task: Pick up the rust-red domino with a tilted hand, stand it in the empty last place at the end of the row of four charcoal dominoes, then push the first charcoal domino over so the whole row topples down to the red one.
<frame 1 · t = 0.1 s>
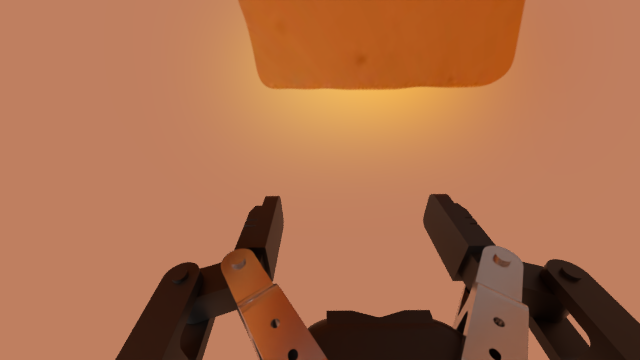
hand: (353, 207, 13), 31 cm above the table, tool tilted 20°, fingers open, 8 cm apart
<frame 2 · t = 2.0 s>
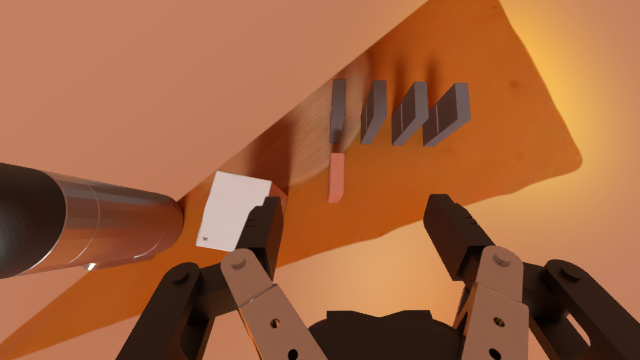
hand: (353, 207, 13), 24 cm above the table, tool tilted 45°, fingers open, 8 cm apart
domino 1: (334, 128, 40), on the table
domino 3: (396, 131, 39), on the table
domino 4: (427, 132, 39), on the table
domino 2: (365, 130, 40), on the table
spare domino: (333, 186, 38), on the table
small box: (264, 217, 37), on the table
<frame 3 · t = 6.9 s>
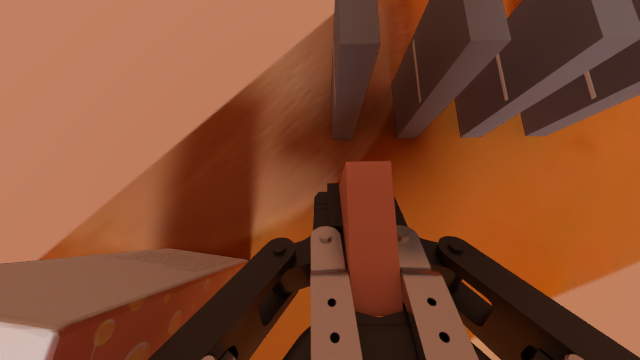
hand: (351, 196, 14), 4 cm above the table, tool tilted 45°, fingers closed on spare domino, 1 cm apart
domino 1: (341, 111, 20), on the table
domino 3: (466, 109, 20), on the table
domino 4: (529, 107, 19), on the table
domino 2: (403, 110, 20), on the table
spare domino: (346, 232, 18), on the table, touching gripper
small box: (199, 310, 17), on the table
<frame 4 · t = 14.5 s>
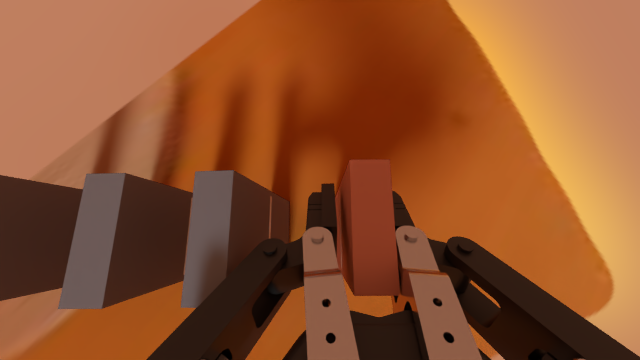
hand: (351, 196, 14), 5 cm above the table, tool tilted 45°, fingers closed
domino 3: (214, 234, 19), on the table
domino 4: (279, 233, 19), on the table
domino 2: (150, 235, 19), on the table
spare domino: (345, 230, 18), on the table
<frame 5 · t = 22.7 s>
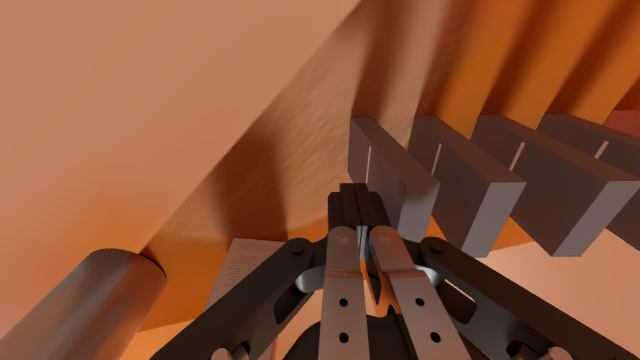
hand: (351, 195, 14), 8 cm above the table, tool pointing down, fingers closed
domino 1: (358, 145, 20), on the table, tilted 8°, touching gripper
domino 3: (478, 143, 20), on the table
domino 4: (539, 142, 20), on the table
domino 2: (418, 144, 20), on the table
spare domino: (602, 139, 20), on the table
small box: (262, 260, 29), on the table
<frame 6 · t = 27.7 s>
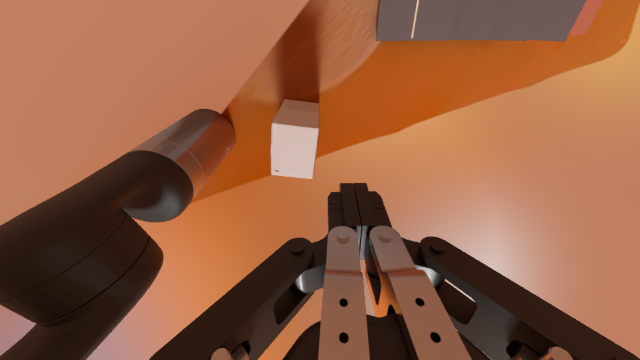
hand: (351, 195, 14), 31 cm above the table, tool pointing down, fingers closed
domino 1: (378, 20, 34), point 1 cm above the table, tilted 72°, touching domino 2
domino 3: (450, 18, 34), point 1 cm above the table, tilted 72°, touching domino 2, domino 4
domino 4: (489, 16, 34), point 1 cm above the table, tilted 72°, touching domino 3, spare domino
domino 2: (415, 18, 34), point 1 cm above the table, tilted 72°, touching domino 1, domino 3
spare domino: (520, 15, 34), point 1 cm above the table, tilted 90°, touching domino 4
small box: (300, 122, 43), on the table
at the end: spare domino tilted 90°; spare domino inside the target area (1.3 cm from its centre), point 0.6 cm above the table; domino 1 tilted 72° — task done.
